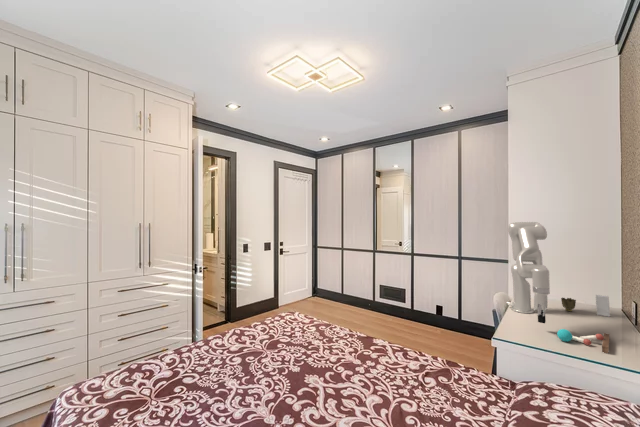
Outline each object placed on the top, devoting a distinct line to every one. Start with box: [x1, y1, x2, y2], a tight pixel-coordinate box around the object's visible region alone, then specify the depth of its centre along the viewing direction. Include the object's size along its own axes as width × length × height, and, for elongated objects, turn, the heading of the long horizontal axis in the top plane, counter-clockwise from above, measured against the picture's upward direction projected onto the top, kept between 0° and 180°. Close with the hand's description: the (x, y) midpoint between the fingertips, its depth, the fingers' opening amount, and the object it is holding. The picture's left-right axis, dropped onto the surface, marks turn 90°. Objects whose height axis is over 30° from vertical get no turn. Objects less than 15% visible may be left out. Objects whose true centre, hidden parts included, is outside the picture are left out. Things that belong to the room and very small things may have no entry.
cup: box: [560, 297, 577, 313], centre depth 190 cm, size 8×7×8 cm
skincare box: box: [595, 294, 611, 317], centre depth 181 cm, size 6×4×12 cm
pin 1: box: [571, 335, 592, 346], centre depth 145 cm, size 3×3×9 cm
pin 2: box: [579, 333, 604, 341], centre depth 144 cm, size 3×3×9 cm
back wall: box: [601, 332, 611, 354], centre depth 141 cm, size 2×20×3 cm, turn 133°
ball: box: [556, 328, 573, 343], centre depth 147 cm, size 6×6×6 cm
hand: (541, 322), depth 160 cm, fingers closed
